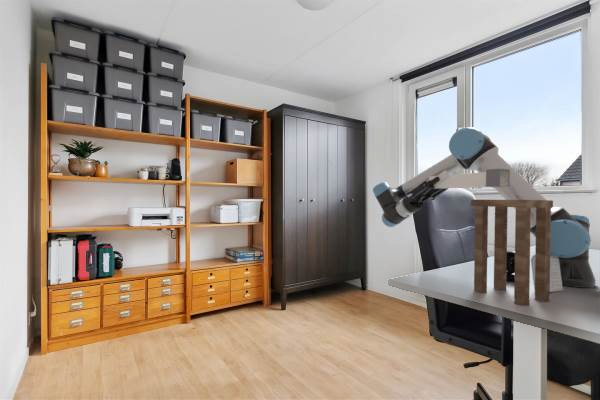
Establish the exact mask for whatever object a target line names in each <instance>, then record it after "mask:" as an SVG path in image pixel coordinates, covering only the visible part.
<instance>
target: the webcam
mask: <svg viewBox="0 0 600 400" xmlns="http://www.w3.org/2000/svg"><path fill="white" fill-rule="evenodd" d="M514 281H515V251H514V252H513V251H508V250H507V275H506V282H510V283H514Z"/></svg>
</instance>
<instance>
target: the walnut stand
mask: <svg viewBox="0 0 600 400" xmlns="http://www.w3.org/2000/svg"><path fill="white" fill-rule="evenodd" d="M553 206H554V200H552V199H551V200H547V199H546V200H505V199H470V207H474V209H475V211H474V212H475V213H474V215H475V216H474V257H473V258H474V261H473V262H474V267H473V268H474V270H473V271H474V274H473V291H474V292H477V293H480V294H483V293H487V292H488V239H489V238H488V234H489V233H488V232H489V230H488V229H489V226H488V225H489V207H491V208H493V207H494V244H493V245H494V248H493V251H494V252H493V253H494V255H493V257H494V258H493V289H496V290H500V291H505V290H507V281H506V275H507V272H508V271H507V252H508V208H513V207H516V210H515V225H514V226H515V228H514V230H515V232H514V233H515V234H514V253H515V273H514V275H515V281H514V282H513V283H514V291H513V293H514V295H513V303H514V304H517V305H519V306H522V307H524V306H529V305H530V283H531V282H530V280H531V279H530V278H531V275H530V274H531V269H530V268H531V232H530V222H531V208H536V237H535V253H534V254H535V289H534V300H536V301H539V302H542V303H543V302H544V303H545V302H550V298H551V297H550V294H551V292H550V238H551V208H553Z"/></svg>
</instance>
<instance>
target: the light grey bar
mask: <svg viewBox="0 0 600 400" xmlns="http://www.w3.org/2000/svg"><path fill="white" fill-rule="evenodd" d="M435 177H437V176H429V181H430V180H433V179H434V178H435ZM433 186H434V185H433ZM509 186H510V170H509V169H488V170H486V172H481V173H480V172H470V173H469V172H468V173H459V174H458V173H457V174H454V175H449V177H448V178H447V179H445V180H444V181H443V182H441V183H440V184H439V185H437V186H434V189H441V188H449V189H472V188H473V189H474V188H475V189H476V188H477V189H478V188H493V187H509Z"/></svg>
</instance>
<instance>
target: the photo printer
mask: <svg viewBox="0 0 600 400" xmlns="http://www.w3.org/2000/svg"><path fill="white" fill-rule="evenodd" d="M535 254H536V253H534V254H533V255H532V257H530V266H531V272H532V273H531V274H532V280H533V289H534V290H535ZM559 291H563V285H562V280H561V272H560V264H559V259H558V257H557V256H554V255H552V254H550V293H554V292H559Z"/></svg>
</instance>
